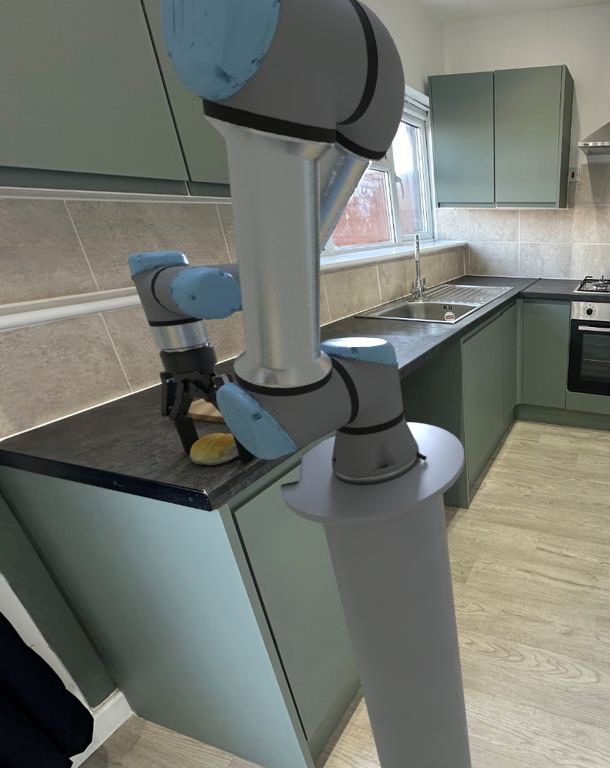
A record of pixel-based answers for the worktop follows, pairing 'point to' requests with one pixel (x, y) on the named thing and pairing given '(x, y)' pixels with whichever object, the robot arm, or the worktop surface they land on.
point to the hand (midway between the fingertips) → (220, 453)
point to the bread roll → (214, 449)
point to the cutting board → (205, 411)
